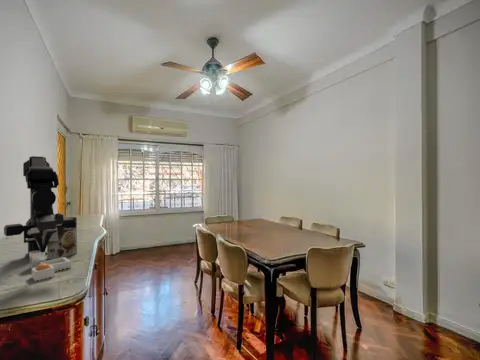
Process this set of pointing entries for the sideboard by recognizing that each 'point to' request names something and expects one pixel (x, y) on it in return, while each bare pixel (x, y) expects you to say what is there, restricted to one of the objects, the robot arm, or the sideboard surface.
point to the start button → (42, 266)
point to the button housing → (43, 273)
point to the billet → (36, 258)
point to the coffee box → (63, 242)
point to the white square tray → (58, 263)
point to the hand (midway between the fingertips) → (42, 252)
